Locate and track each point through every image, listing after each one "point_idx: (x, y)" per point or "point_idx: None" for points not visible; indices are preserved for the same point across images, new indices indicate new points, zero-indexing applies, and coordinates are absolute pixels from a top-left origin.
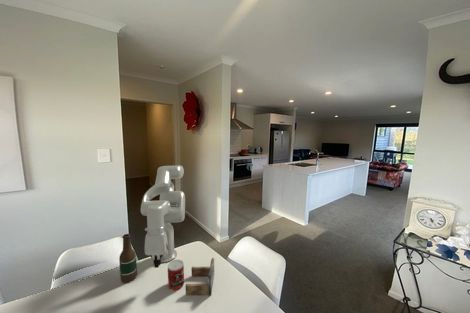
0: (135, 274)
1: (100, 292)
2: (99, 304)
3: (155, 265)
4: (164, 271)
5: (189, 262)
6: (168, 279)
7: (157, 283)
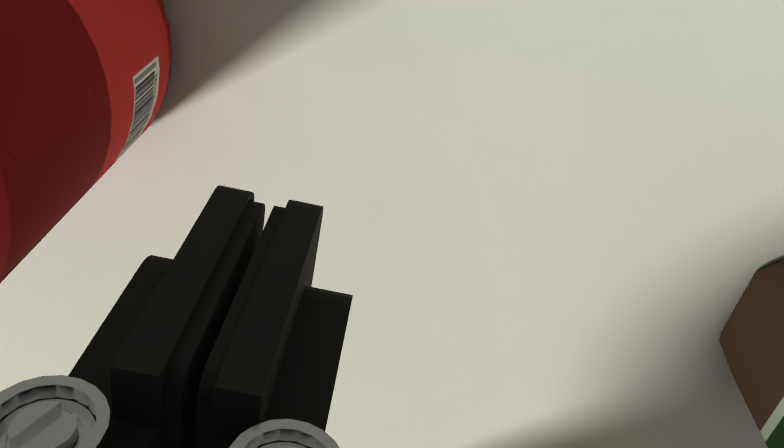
0: (755, 339)
1: None
2: None
3: (271, 244)
4: None
5: None
6: (72, 5)
7: (377, 122)
